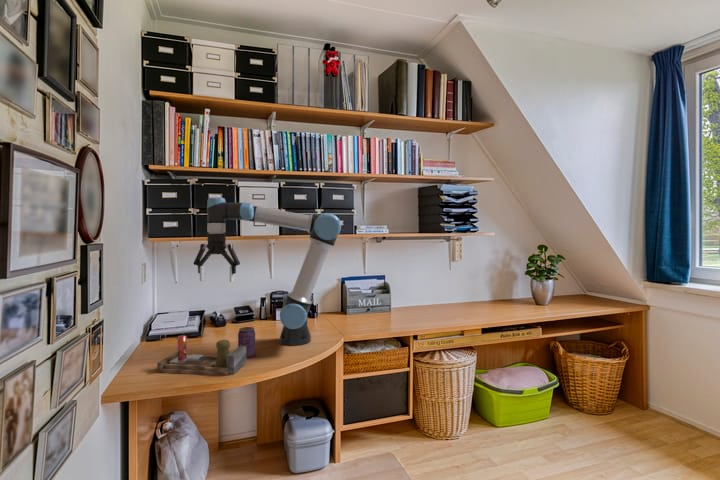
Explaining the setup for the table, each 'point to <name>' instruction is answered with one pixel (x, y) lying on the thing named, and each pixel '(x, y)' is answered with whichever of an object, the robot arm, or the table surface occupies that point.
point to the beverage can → (247, 340)
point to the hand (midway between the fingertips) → (217, 281)
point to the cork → (222, 353)
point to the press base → (206, 364)
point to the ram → (183, 356)
